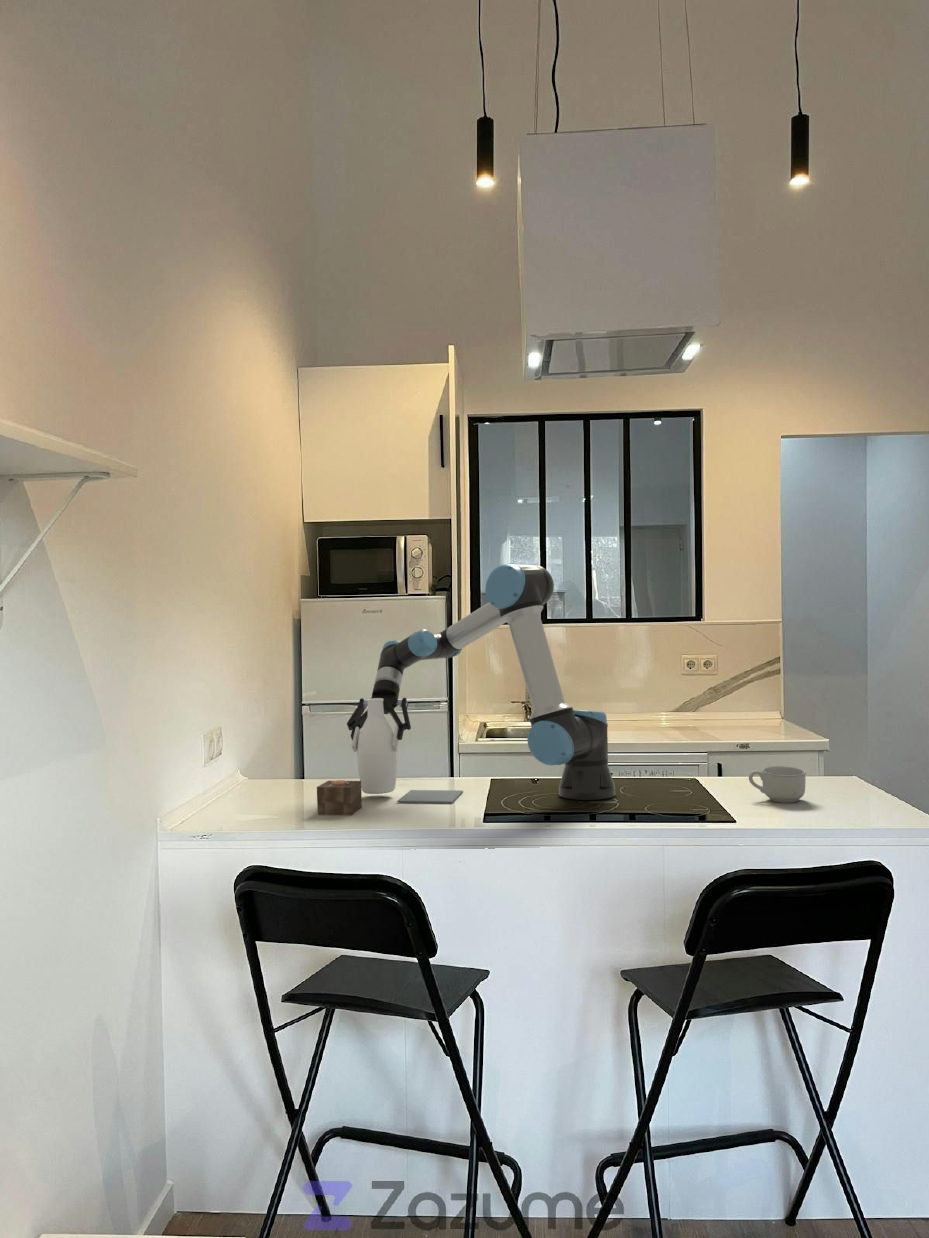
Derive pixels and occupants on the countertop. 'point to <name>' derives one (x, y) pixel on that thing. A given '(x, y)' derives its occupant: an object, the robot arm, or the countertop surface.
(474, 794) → the countertop surface
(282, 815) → the countertop surface
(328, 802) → the button housing
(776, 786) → the teacup
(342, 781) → the release button
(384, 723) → the bottle
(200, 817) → the countertop surface
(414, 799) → the mat
